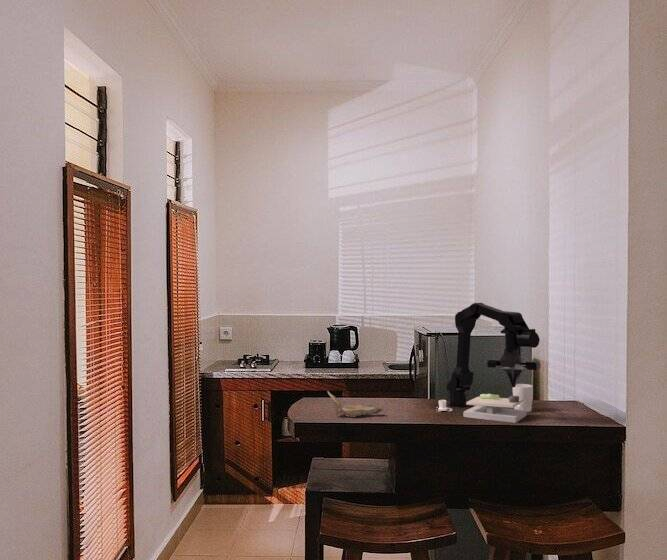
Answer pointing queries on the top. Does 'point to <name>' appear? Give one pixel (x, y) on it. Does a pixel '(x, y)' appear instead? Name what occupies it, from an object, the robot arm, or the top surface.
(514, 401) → the instrument plate
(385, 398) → the top surface
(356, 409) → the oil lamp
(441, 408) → the teacup and saucer
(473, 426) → the top surface
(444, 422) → the top surface
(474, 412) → the instrument base
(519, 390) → the white cup
